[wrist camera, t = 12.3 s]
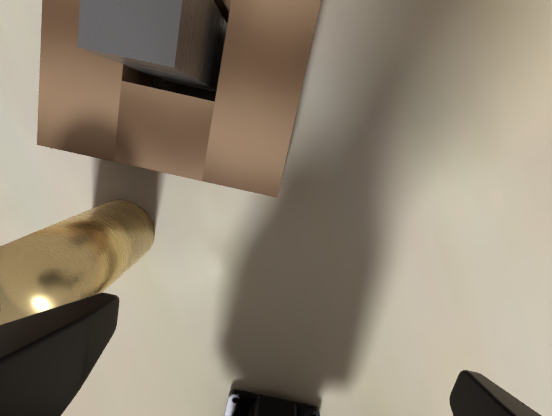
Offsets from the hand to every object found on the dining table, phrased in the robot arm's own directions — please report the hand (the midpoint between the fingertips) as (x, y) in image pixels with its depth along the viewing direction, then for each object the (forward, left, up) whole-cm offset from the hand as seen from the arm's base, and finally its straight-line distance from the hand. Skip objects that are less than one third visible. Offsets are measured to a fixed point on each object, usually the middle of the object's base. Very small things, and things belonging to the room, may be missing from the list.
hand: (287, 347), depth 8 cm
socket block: (+8, +7, -12) cm, 16 cm away
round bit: (-3, +10, -12) cm, 16 cm away
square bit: (+8, +7, -12) cm, 16 cm away
